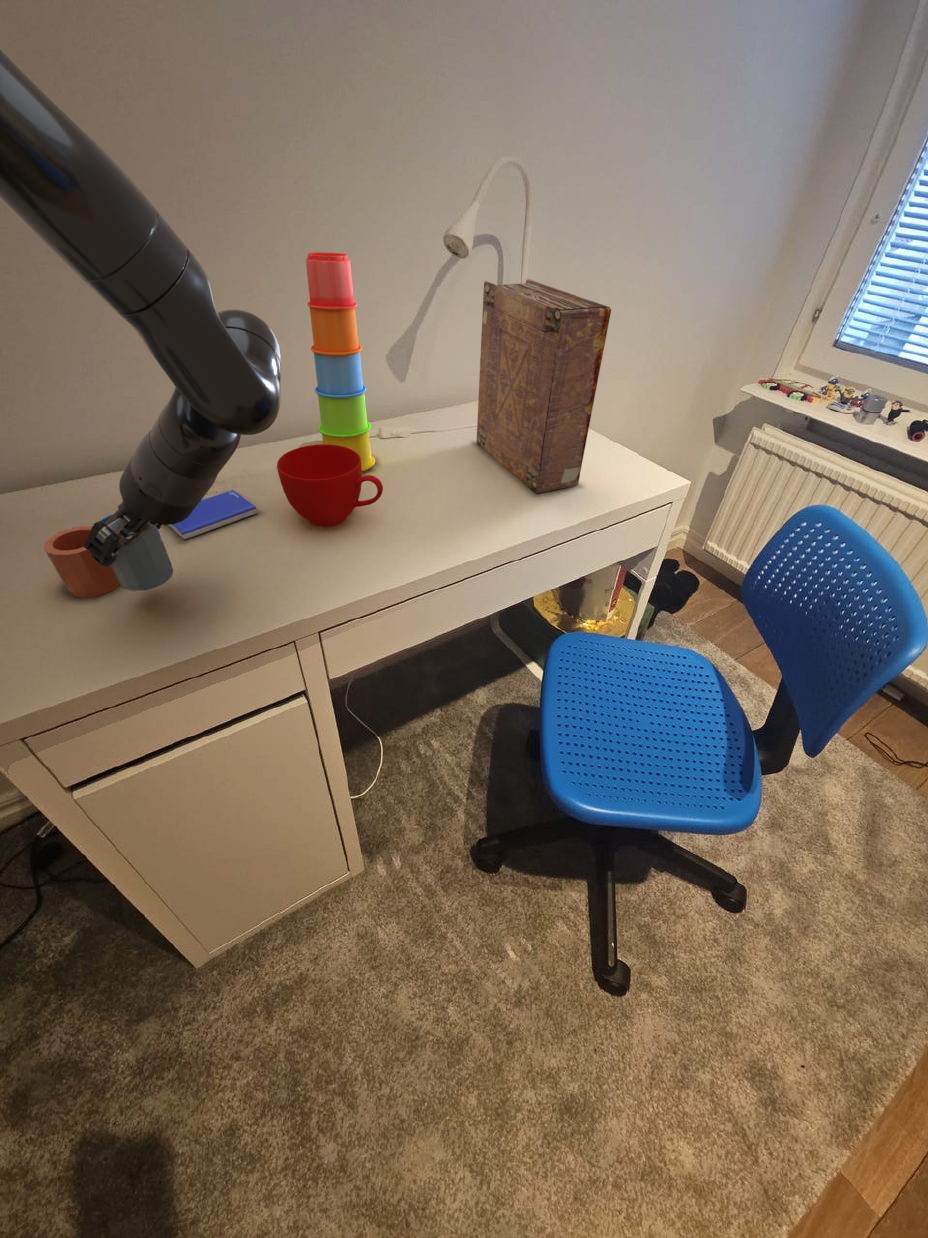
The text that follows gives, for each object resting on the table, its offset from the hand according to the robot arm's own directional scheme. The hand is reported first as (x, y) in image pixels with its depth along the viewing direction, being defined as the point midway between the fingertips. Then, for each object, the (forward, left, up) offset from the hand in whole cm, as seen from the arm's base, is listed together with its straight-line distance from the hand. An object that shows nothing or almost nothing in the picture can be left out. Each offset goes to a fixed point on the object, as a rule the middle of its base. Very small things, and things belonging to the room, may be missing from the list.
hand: (123, 545), depth 68 cm
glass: (-1, -2, -4) cm, 5 cm away
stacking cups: (+43, -22, -9) cm, 48 cm away
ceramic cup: (+22, -23, -9) cm, 32 cm away
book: (+45, -57, -9) cm, 73 cm away
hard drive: (+22, -2, -9) cm, 23 cm away
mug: (+5, +8, -9) cm, 13 cm away
